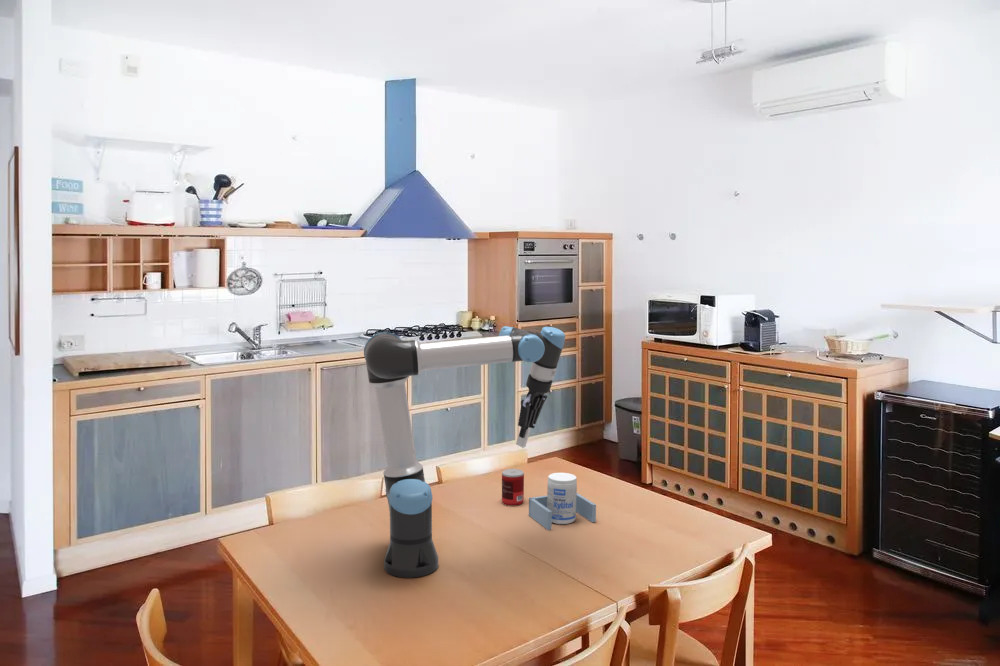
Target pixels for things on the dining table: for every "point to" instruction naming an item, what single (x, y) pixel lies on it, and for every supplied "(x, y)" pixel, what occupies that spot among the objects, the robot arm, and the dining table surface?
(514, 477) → the canned food
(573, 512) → the supplement tub
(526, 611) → the dining table surface
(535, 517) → the bay
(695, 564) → the dining table surface
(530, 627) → the dining table surface
